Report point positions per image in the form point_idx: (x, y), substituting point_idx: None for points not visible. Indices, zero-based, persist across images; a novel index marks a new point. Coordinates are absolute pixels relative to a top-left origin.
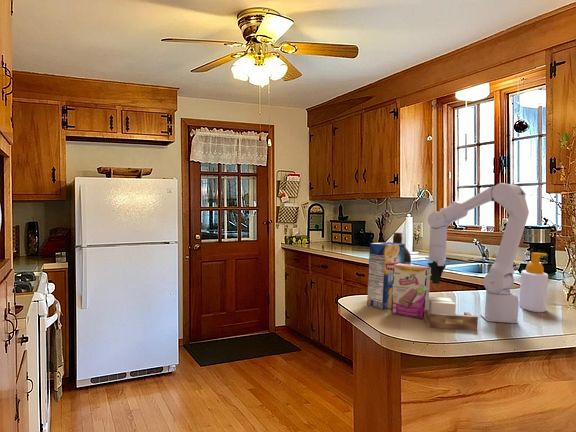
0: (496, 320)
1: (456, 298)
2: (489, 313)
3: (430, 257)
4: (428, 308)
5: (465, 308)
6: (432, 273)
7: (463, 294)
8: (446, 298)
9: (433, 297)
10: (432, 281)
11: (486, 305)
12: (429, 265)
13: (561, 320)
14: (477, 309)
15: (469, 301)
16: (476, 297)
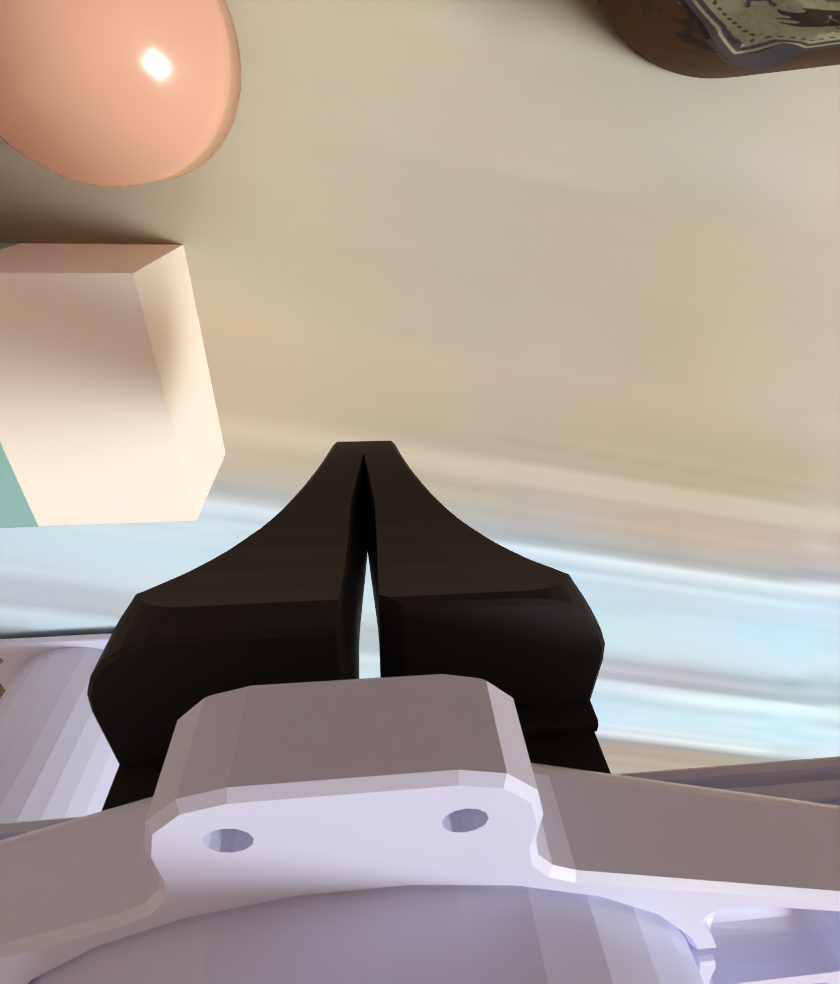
0: (4, 685)
1: (703, 576)
2: (10, 690)
3: (140, 954)
4: (44, 249)
5: (366, 579)
6: (271, 520)
7: (829, 633)
8: (151, 490)
9: (126, 354)
10: (353, 447)
11: (11, 725)
12: (311, 588)
13: None
14: (361, 639)
15: (607, 633)
16: (729, 681)
